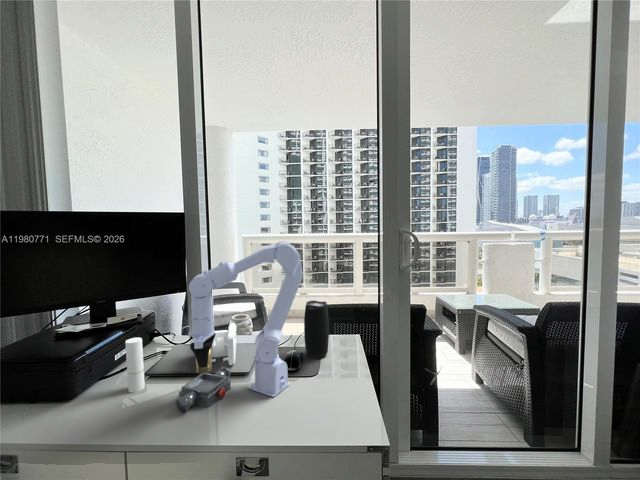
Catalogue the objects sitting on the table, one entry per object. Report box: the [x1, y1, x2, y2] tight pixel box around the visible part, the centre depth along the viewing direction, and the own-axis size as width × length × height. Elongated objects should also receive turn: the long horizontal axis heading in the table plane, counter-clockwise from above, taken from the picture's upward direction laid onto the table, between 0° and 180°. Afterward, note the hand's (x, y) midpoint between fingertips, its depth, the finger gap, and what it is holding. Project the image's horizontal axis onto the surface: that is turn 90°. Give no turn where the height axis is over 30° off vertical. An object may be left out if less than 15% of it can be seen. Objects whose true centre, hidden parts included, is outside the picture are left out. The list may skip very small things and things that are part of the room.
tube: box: [125, 337, 146, 393], centre depth 96 cm, size 4×4×15 cm
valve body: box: [175, 366, 232, 414], centre depth 92 cm, size 18×11×4 cm, turn 160°
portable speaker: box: [303, 300, 330, 360], centre depth 117 cm, size 9×9×20 cm
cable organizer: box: [211, 322, 238, 366], centre depth 114 cm, size 15×11×12 cm
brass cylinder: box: [195, 347, 213, 374], centre depth 92 cm, size 4×4×6 cm
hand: (204, 362), depth 92 cm, fingers closed on brass cylinder, 4 cm apart
